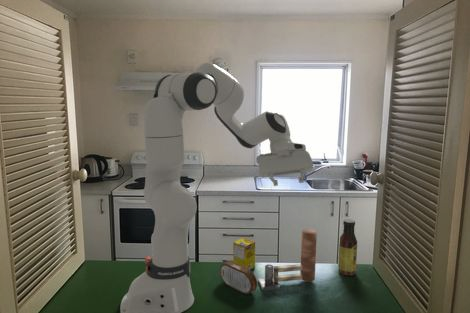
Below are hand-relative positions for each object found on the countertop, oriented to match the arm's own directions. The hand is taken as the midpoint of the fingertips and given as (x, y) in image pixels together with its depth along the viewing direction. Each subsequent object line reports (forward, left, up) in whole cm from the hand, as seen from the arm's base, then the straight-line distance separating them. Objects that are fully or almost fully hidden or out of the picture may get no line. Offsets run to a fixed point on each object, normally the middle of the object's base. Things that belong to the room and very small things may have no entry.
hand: (288, 183), depth 126 cm
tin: (-21, -11, -33) cm, 41 cm away
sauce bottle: (+21, -7, -33) cm, 40 cm away
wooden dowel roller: (-1, -11, -31) cm, 33 cm away
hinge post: (-10, -11, -33) cm, 36 cm away
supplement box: (-16, +2, -33) cm, 37 cm away
